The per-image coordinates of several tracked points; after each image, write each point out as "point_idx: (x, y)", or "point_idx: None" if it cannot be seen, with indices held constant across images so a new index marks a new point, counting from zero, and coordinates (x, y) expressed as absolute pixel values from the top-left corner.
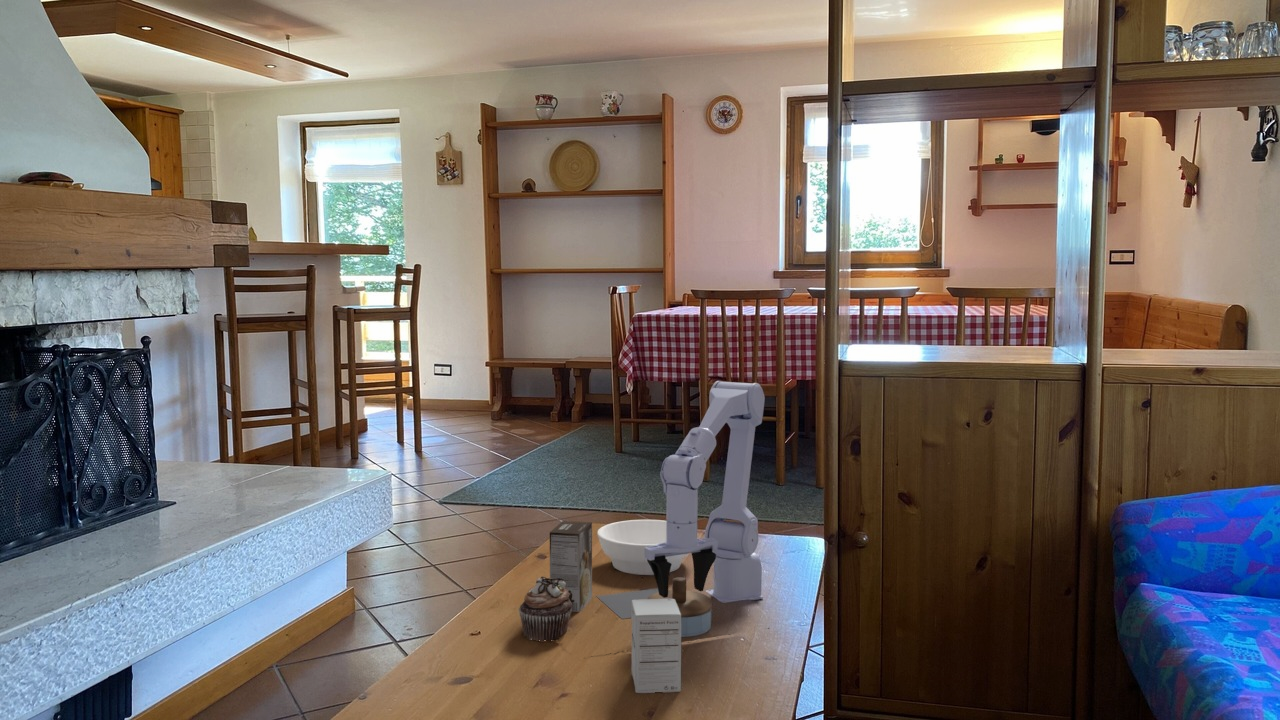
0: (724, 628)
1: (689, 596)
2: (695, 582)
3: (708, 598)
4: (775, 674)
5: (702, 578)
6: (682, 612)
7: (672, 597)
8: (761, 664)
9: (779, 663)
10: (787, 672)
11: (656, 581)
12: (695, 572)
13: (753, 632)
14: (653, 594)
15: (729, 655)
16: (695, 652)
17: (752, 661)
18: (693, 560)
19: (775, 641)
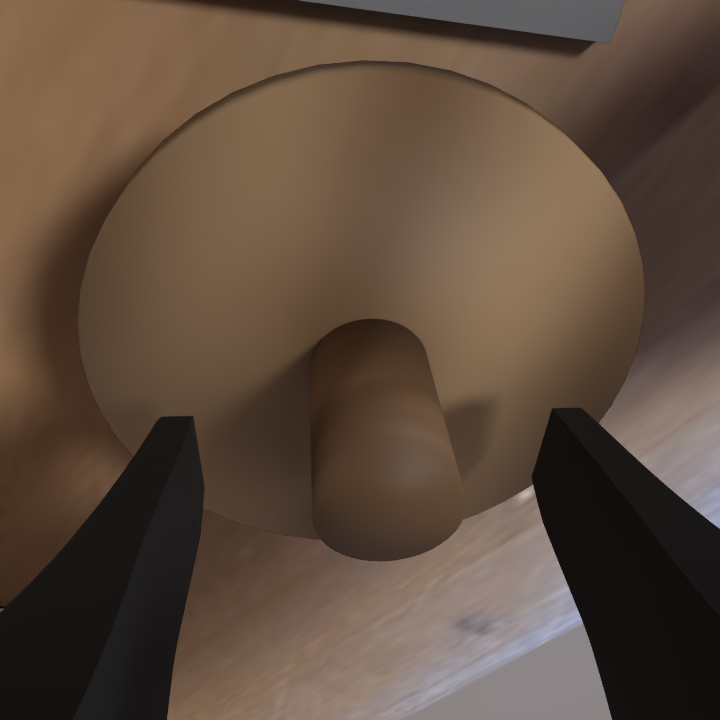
0: None
1: (508, 323)
2: (570, 460)
3: (592, 413)
4: (398, 688)
5: (573, 595)
6: (265, 526)
7: (311, 376)
8: (411, 644)
9: (467, 652)
10: (438, 688)
11: (101, 507)
12: (623, 529)
13: None
14: (228, 121)
15: (362, 579)
16: None
17: (402, 626)
18: (707, 626)
19: None
